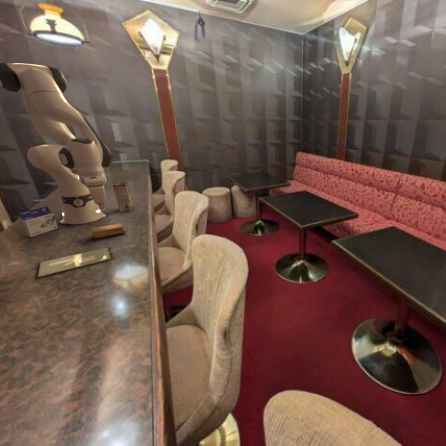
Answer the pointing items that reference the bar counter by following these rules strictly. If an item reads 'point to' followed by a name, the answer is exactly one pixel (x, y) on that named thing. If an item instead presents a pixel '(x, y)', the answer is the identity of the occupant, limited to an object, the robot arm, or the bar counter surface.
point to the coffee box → (122, 196)
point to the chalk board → (73, 262)
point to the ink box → (38, 221)
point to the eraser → (107, 231)
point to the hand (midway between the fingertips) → (102, 209)
